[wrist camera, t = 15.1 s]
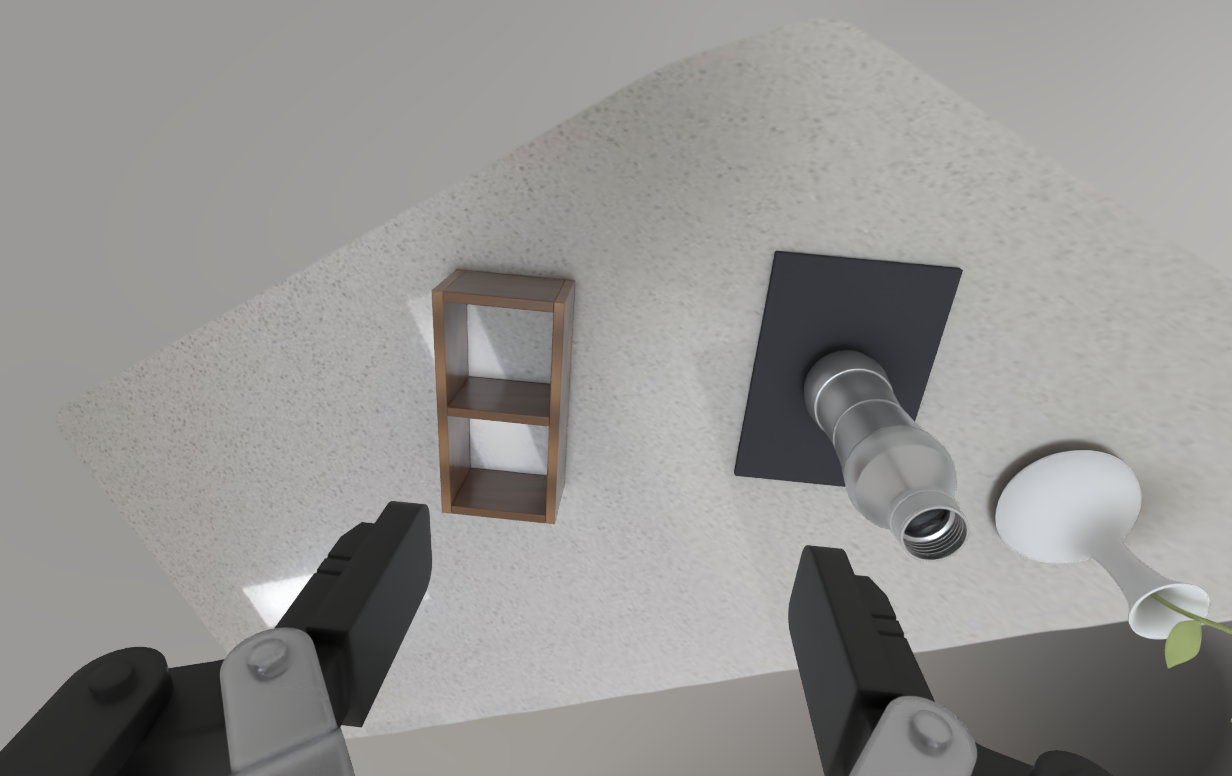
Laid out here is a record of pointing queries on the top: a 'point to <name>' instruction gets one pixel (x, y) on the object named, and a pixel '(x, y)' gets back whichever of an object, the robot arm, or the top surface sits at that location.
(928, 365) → the mat
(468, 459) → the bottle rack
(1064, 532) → the flower in vase
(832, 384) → the plastic bottle
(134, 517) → the top surface
